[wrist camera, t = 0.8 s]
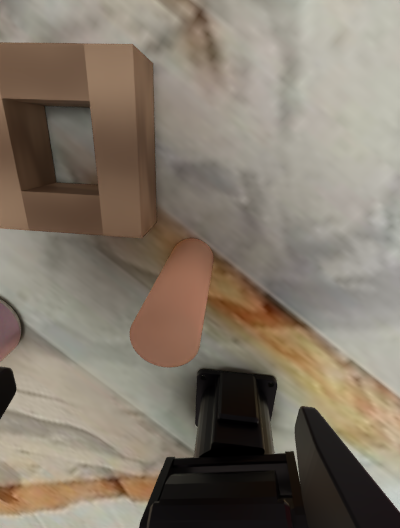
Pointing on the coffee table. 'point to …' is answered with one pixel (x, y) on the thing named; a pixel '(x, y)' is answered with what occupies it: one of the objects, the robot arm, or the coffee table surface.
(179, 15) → the coffee table surface
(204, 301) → the peg
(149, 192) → the socket
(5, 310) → the beverage can
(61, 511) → the coffee table surface
